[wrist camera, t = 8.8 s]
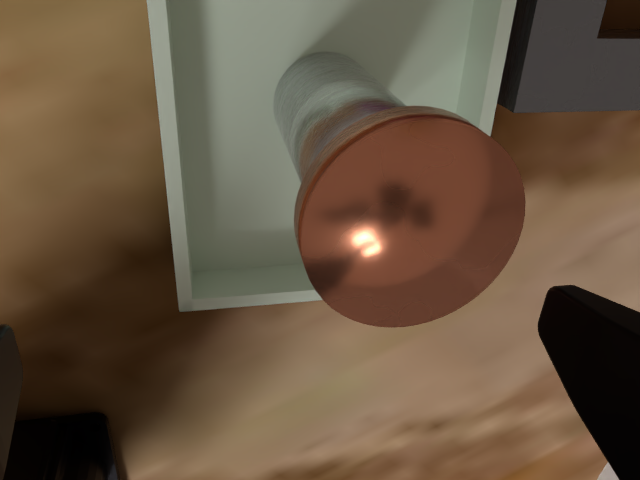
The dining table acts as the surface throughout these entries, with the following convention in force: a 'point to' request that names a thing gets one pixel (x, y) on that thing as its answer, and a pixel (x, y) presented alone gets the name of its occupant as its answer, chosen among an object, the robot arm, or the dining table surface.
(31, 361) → the dining table surface
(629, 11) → the dining table surface
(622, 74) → the collar
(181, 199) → the tray
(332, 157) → the salt shaker
